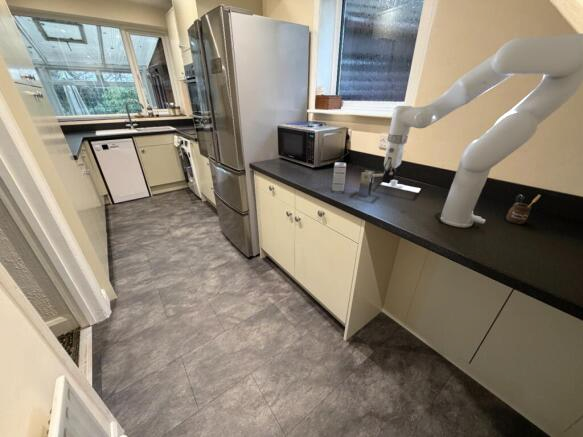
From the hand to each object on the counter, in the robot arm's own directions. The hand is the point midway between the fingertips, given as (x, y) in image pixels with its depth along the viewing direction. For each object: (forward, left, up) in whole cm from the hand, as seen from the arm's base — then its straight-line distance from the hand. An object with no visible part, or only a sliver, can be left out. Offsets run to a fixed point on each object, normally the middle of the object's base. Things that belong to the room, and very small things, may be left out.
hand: (387, 180), depth 105 cm
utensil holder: (-49, -15, -11) cm, 52 cm away
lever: (+5, 0, 0) cm, 5 cm away
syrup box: (+23, +1, -11) cm, 26 cm away
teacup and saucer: (-1, -21, -11) cm, 24 cm away
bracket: (+9, 0, -11) cm, 14 cm away
